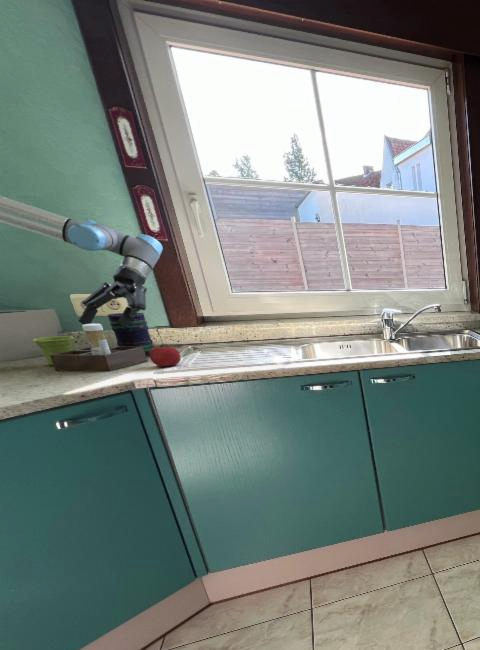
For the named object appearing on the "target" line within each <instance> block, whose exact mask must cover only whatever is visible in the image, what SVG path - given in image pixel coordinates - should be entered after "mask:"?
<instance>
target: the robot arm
mask: <svg viewBox="0 0 480 650" xmlns="http://www.w3.org/2000/svg"><path fill="white" fill-rule="evenodd" d="M0 223H1V224H5V225H8V226H12V227H15V228H18V229H21V230H25V231H28V232H32V233H35V234H38V235H42V236H45V237H48V238H51V239H55V240H57V241H61V242H65V243H68V244H70V245H74V246H75V247H77V248H79V249H82V250H86V251H90V252H97V251H108V252H110V253H113V254H116V255H119V256H121V257H123V258H122V259H121V261H120V263H119V265H118V267H117V269H116V270H115V272H113V273H114V274H113V275H112V278H113V282H112V283H111V284H110V283H108V282H106V281H105V282H103V283H102V284H101V285H100V287H98V288H97V289H96V290H95V291H93V292H92V293H91V294H90V295H89V296H87V297H86V298H85V299H84V300H82V301H81V304H83V305H84V306H85V308H84V310H83V312H82V314H81V316H80V318H79V319H78V322H79V323H80V324H82V325H84V324H92V322H93V320H94V318H95V317H96V315H97V313H98V312H99V310H98V309H100V308H101V307H102V306H104V305H106V304H108V303H109V302H111V301H113V300H117V299H119V298H123V299H126V301H127V306H125V308H124V310H123V312H122V313H123V314H122V315H121V317H120V319H119V321H118V322H117V323H118V324H120V325H121V326H123V327H124V328H127V327H128V326H129V324H130V322H131V320H132V319H133V318H134V317H135V315H136V313H139V312H140V311H145V310H147V306H146V305H147V301H146V293H147V290H148V289H147V287H145V286H144V285H145V283H146V281H147V279H148V277H149V275H150V274H151V272H152V271H153V269H154V267H155V266H156V264H157V262H158V261H159V259H160V257H161V254H162V253H163V250H164V248H163V245H162V243H161V242H160V241H158V240H157V239H156V238H154V237H153V236H151V235H148V234H144V233H140V234H137V236H131V235H128V234H126V233H124V232H121V231H119V230H116V229H114V228H111V227H109V226H107V225H104V223H100V222H96V221H94V220H92V219H91V220H90V219H87V220H85V221H84V222H82V221H79V220H76V219H72V218H69V217H67V216H63V215H61V214H58V213H55V212H51V211H49V210H45V209H42V208H39V207H36V206H33V205H30V204H27V203H23V202H20V201H17V200H15V199H11V198H8V197H6V196H2V195H0Z"/></svg>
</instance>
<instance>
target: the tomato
mask: <svg viewBox="0 0 480 650" xmlns="http://www.w3.org/2000/svg"><path fill="white" fill-rule="evenodd" d="M154 347H155V348H153V349H151V350H150V353H149V354H150V357H149V359H150V360H151V362H152V363H153V364H154V365H155V366H157V367H160V368H166V367H174V366H176V365H178V364H180V362H181V359H182V358H181V353H180V352H179V350H177V349H176V348H175V347H173V346H170V345H163V343H162V344H160V346H154Z"/></svg>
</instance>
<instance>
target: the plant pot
mask: <svg viewBox="0 0 480 650" xmlns="http://www.w3.org/2000/svg"><path fill="white" fill-rule="evenodd" d="M74 338H75V337H74V336H72V335H71V336H70V335H68V336H67V335H65V336H64V335H62V336H60V335H59V336H45V337H39V338H34V339H32V341H33V342H34V343H35V344H36V346H38V347H39V348H40V350H41V352H42V353H43V355H44V357H45V358H46V360H47V361H48V363H49V365H50V366H53V367H54V365H53V362H52V360H51V357H50V355H52V354H57V353H62V352H67V351H72V350H75V349H74Z"/></svg>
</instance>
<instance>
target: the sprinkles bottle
mask: <svg viewBox="0 0 480 650" xmlns="http://www.w3.org/2000/svg"><path fill="white" fill-rule="evenodd" d="M81 327H82V330H83V331H84V333H85V336H86V339H87V342H88V345H89V347H90V348H91V351H92V354H93V355H105V354H110V353H111V352H110V349H109V346H110V345H109V344H108V340H107V338H106V335H105V333H104V328H103V325H102V324H101V323H90V324H82V325H81Z"/></svg>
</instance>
